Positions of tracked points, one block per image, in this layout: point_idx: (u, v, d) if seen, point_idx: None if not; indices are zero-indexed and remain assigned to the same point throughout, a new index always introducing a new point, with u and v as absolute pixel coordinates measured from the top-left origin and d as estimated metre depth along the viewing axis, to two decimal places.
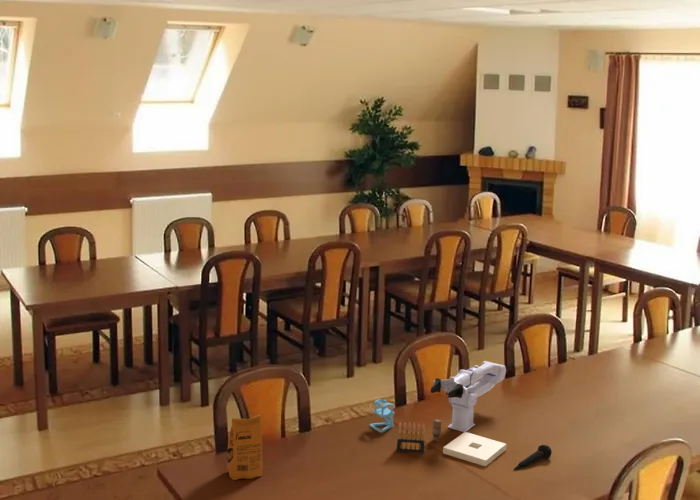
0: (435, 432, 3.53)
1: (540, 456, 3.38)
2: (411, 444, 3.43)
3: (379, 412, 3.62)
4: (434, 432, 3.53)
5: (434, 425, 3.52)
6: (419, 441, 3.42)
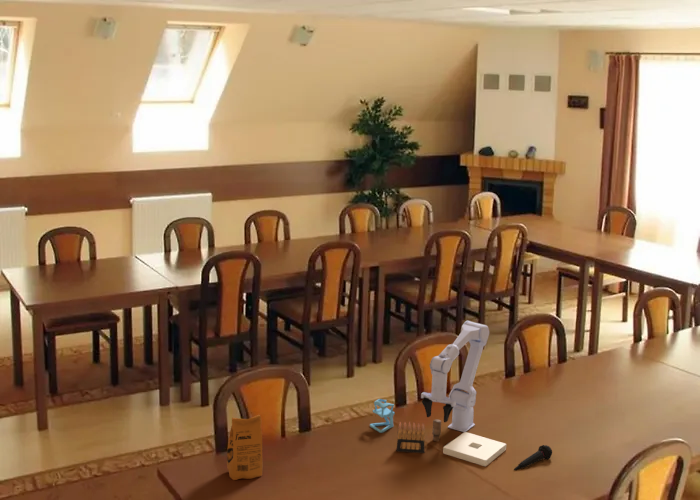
0: (435, 432, 3.53)
1: (540, 456, 3.37)
2: (411, 444, 3.43)
3: (379, 412, 3.62)
4: (434, 432, 3.53)
5: (434, 425, 3.52)
6: (419, 441, 3.42)
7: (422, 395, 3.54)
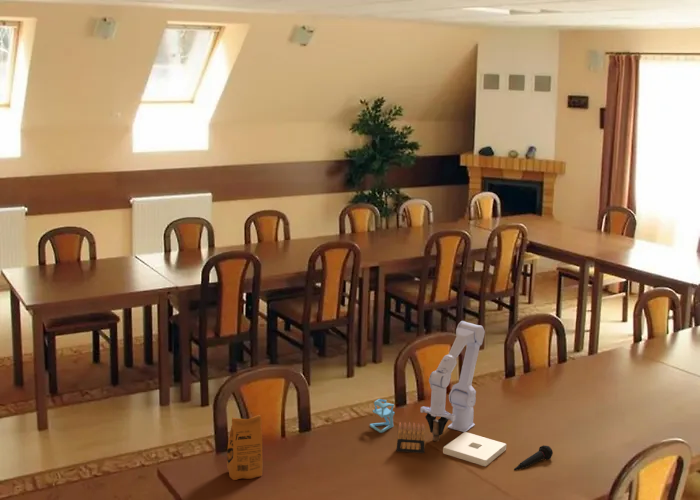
0: (435, 432, 3.53)
1: (541, 457, 3.37)
2: (411, 444, 3.43)
3: (379, 412, 3.62)
4: (434, 432, 3.53)
5: (434, 425, 3.52)
6: (419, 441, 3.42)
7: (421, 409, 3.55)
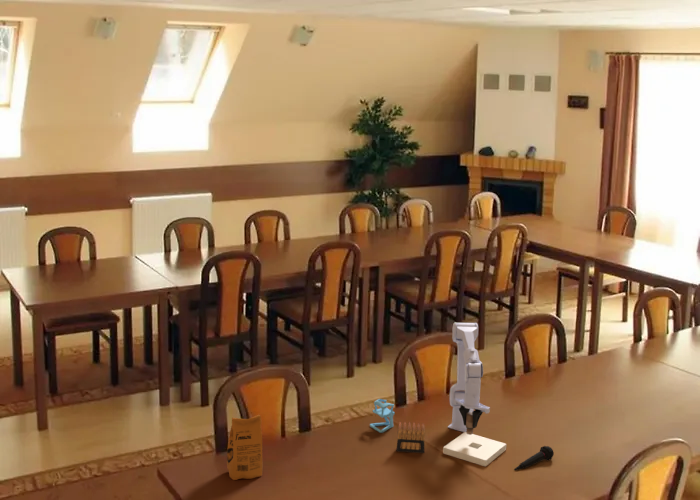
0: (469, 425, 3.43)
1: (541, 457, 3.37)
2: (411, 444, 3.43)
3: (379, 412, 3.62)
4: (468, 425, 3.43)
5: (468, 418, 3.43)
6: (419, 441, 3.42)
7: (455, 401, 3.46)
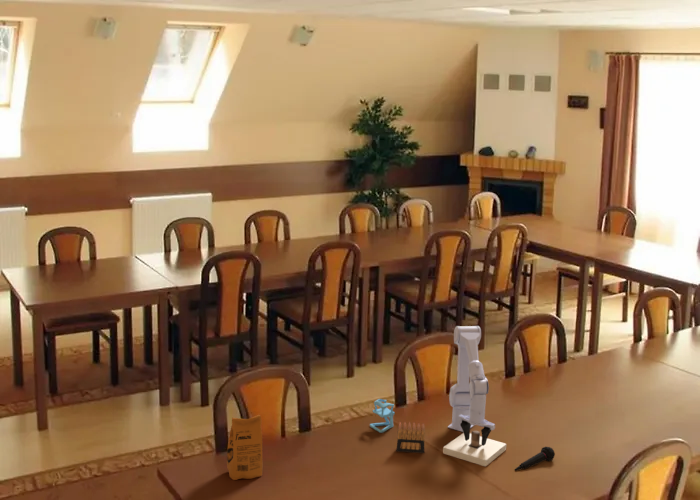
0: (474, 444, 3.43)
1: (542, 458, 3.36)
2: (411, 444, 3.43)
3: (379, 412, 3.62)
4: (473, 444, 3.44)
5: (473, 436, 3.43)
6: (419, 441, 3.42)
7: (460, 418, 3.46)
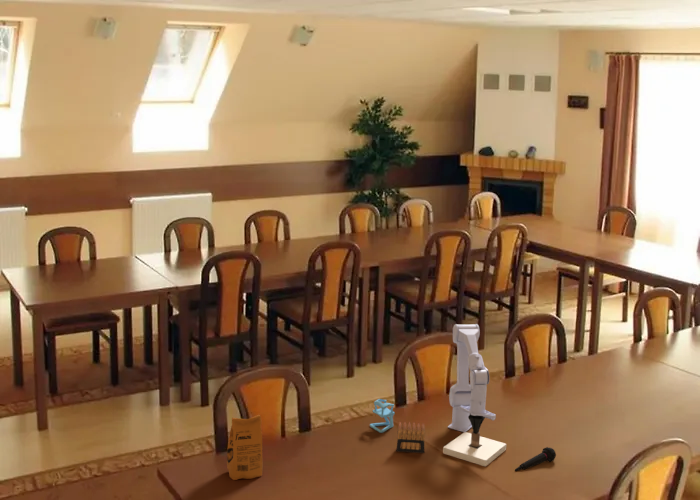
0: (474, 444, 3.43)
1: (543, 458, 3.36)
2: (411, 444, 3.43)
3: (379, 412, 3.62)
4: (473, 444, 3.44)
5: (473, 437, 3.43)
6: (419, 441, 3.42)
7: (460, 408, 3.45)
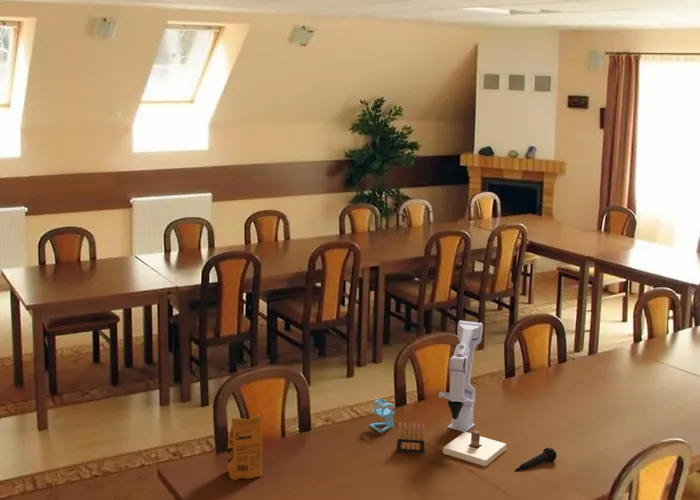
0: (474, 444, 3.43)
1: (544, 459, 3.36)
2: (411, 444, 3.43)
3: (379, 412, 3.62)
4: (473, 444, 3.44)
5: (473, 436, 3.43)
6: (419, 441, 3.42)
7: (440, 394, 3.52)
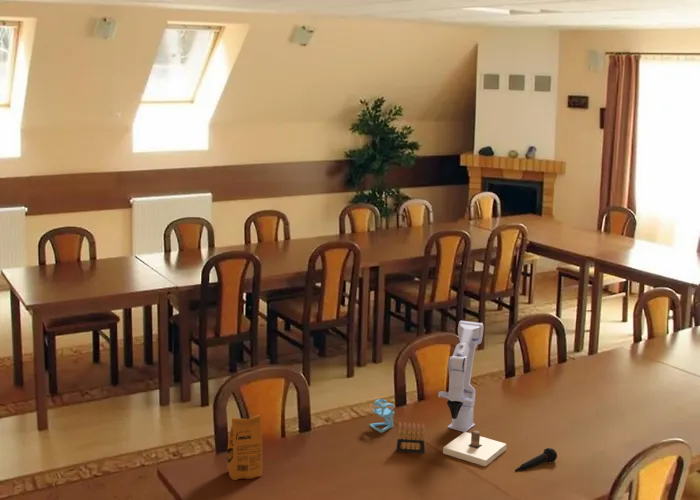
0: (474, 444, 3.43)
1: (544, 459, 3.35)
2: (411, 444, 3.43)
3: (379, 412, 3.62)
4: (473, 444, 3.44)
5: (473, 436, 3.43)
6: (419, 441, 3.42)
7: (439, 394, 3.53)
